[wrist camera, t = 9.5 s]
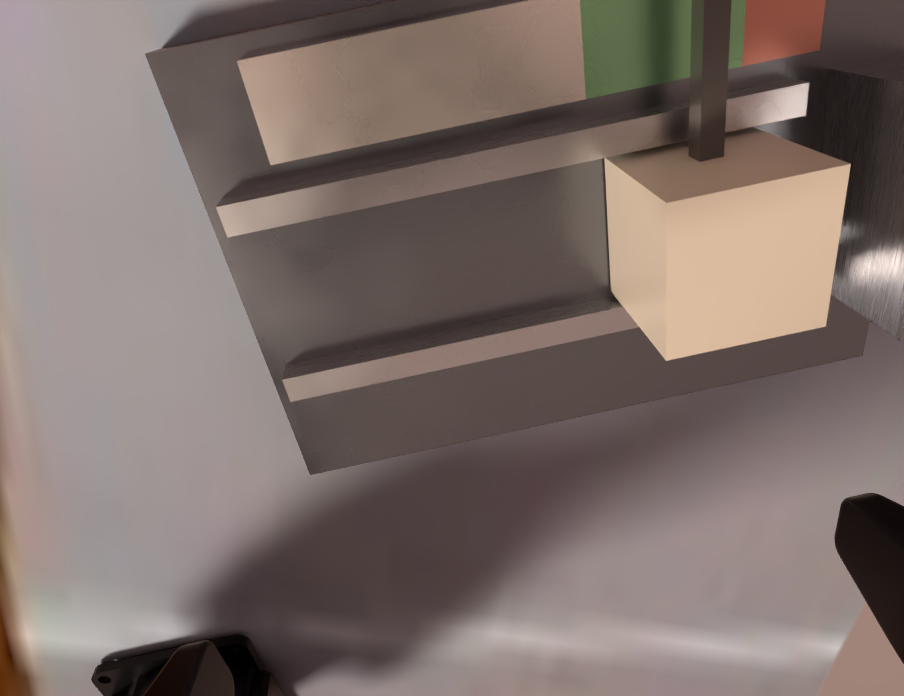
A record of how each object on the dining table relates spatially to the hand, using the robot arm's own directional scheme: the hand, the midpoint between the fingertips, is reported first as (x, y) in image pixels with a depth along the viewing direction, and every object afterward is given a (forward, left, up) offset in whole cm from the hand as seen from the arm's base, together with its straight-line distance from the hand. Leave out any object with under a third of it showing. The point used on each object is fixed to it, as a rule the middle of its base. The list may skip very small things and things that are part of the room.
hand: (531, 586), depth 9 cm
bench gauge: (+4, +1, -12) cm, 13 cm away
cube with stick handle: (+7, +2, -11) cm, 13 cm away
